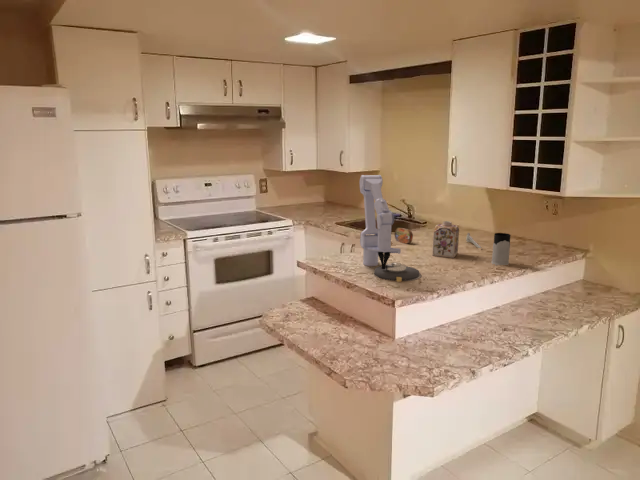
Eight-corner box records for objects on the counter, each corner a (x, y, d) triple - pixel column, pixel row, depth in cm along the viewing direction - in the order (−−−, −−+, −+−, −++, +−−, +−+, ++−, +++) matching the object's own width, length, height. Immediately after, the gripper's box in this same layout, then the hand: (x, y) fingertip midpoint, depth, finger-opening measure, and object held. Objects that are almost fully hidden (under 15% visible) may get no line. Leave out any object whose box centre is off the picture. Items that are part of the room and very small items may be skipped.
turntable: (373, 267, 233) (373, 264, 233) (416, 268, 232) (416, 265, 231) (375, 281, 211) (375, 277, 211) (422, 282, 210) (423, 279, 210)
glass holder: (494, 265, 243) (496, 236, 240) (484, 258, 257) (487, 230, 254) (511, 266, 243) (514, 236, 240) (501, 259, 257) (504, 230, 254)
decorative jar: (458, 253, 268) (460, 221, 264) (454, 258, 257) (456, 224, 254) (436, 251, 273) (437, 219, 269) (431, 255, 262) (433, 222, 259)
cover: (385, 268, 227) (385, 260, 226) (404, 268, 226) (405, 261, 226) (386, 273, 218) (386, 265, 217) (407, 273, 218) (407, 266, 217)
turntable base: (371, 269, 234) (371, 267, 234) (417, 270, 233) (417, 268, 233) (373, 283, 213) (373, 280, 212) (424, 284, 211) (424, 281, 211)
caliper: (465, 242, 297) (466, 232, 296) (467, 242, 297) (468, 232, 296) (480, 250, 277) (481, 239, 276) (482, 250, 277) (483, 239, 276)
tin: (393, 240, 301) (394, 226, 300) (398, 239, 303) (398, 226, 301) (409, 245, 288) (409, 230, 286) (413, 244, 290) (414, 230, 288)
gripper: (368, 240, 216) (367, 270, 219) (401, 241, 215) (400, 271, 218) (367, 237, 223) (367, 266, 226) (400, 237, 222) (398, 267, 225)
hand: (383, 268), depth 222 cm, fingers closed
